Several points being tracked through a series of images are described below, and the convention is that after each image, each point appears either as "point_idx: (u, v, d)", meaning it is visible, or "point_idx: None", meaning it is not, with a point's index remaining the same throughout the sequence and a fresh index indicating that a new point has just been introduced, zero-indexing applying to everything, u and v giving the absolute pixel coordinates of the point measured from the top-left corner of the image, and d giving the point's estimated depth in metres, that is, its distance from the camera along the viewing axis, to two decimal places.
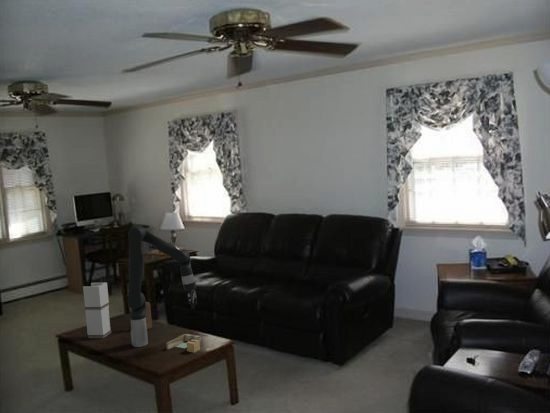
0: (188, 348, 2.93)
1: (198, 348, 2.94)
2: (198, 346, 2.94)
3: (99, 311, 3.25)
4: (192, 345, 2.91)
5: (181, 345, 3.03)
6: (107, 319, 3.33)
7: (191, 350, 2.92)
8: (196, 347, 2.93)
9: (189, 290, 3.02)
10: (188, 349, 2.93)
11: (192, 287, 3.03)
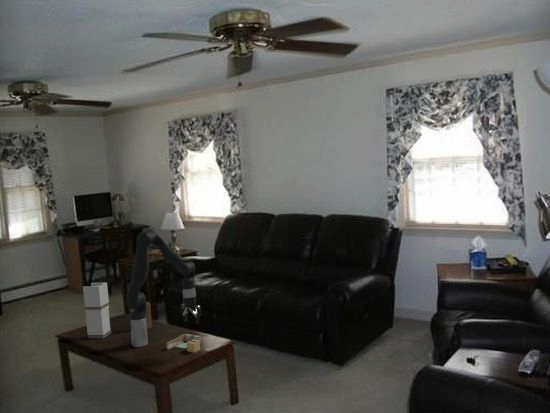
0: (188, 348, 2.93)
1: (198, 348, 2.94)
2: (198, 346, 2.94)
3: (99, 311, 3.25)
4: (192, 345, 2.91)
5: (181, 345, 3.03)
6: (107, 319, 3.33)
7: (191, 350, 2.92)
8: (196, 347, 2.93)
9: (195, 303, 2.90)
10: (188, 349, 2.93)
11: None
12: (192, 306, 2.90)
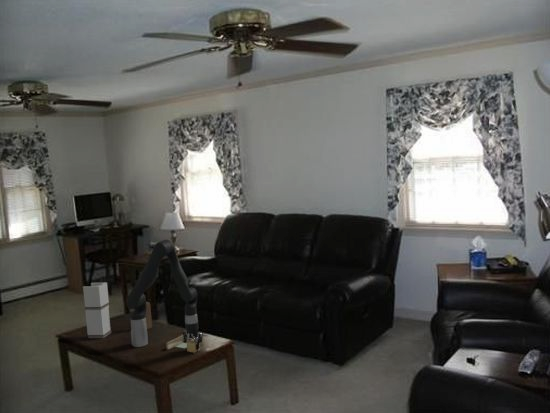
0: (188, 348, 2.93)
1: None
2: None
3: (99, 311, 3.25)
4: (192, 345, 2.91)
5: (181, 345, 3.03)
6: (107, 319, 3.33)
7: (191, 350, 2.92)
8: None
9: (197, 329, 2.92)
10: (188, 349, 2.93)
11: None
12: (194, 332, 2.91)
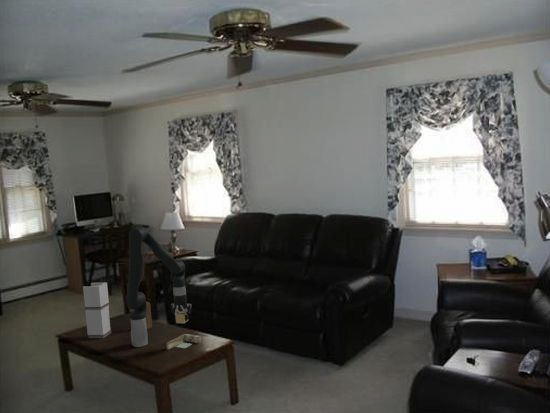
0: (177, 320, 3.00)
1: None
2: None
3: (99, 311, 3.25)
4: (182, 316, 2.99)
5: (181, 345, 3.03)
6: (107, 319, 3.33)
7: (180, 321, 2.99)
8: None
9: (186, 300, 3.00)
10: (177, 321, 3.00)
11: None
12: (183, 303, 3.00)
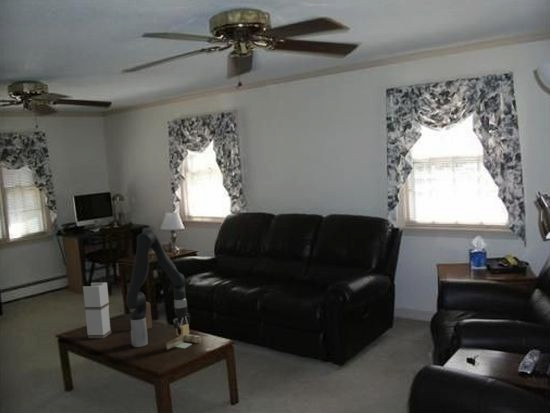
0: (184, 332, 3.00)
1: None
2: None
3: (99, 311, 3.25)
4: (187, 326, 3.02)
5: (181, 345, 3.03)
6: (107, 319, 3.33)
7: (186, 332, 3.02)
8: None
9: None
10: (184, 333, 3.00)
11: None
12: (185, 314, 3.03)
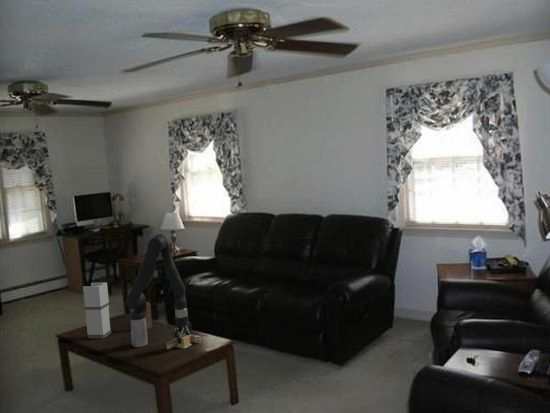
0: (185, 343, 3.00)
1: None
2: None
3: (99, 311, 3.25)
4: (188, 338, 3.03)
5: None
6: (107, 319, 3.33)
7: (187, 343, 3.02)
8: None
9: None
10: (185, 344, 3.00)
11: None
12: (186, 323, 3.04)
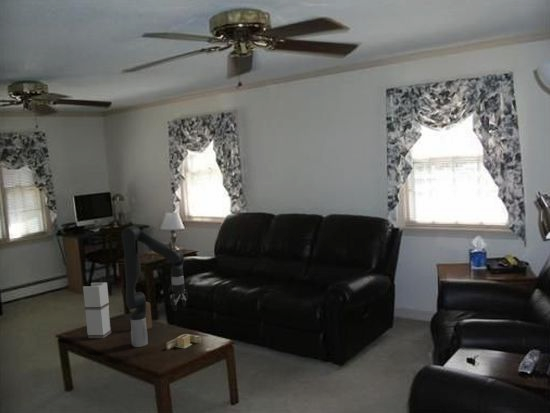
0: (185, 343, 3.00)
1: None
2: None
3: (99, 311, 3.25)
4: (188, 338, 3.03)
5: None
6: (107, 319, 3.33)
7: (187, 343, 3.02)
8: None
9: None
10: (185, 344, 3.00)
11: None
12: (182, 291, 3.04)
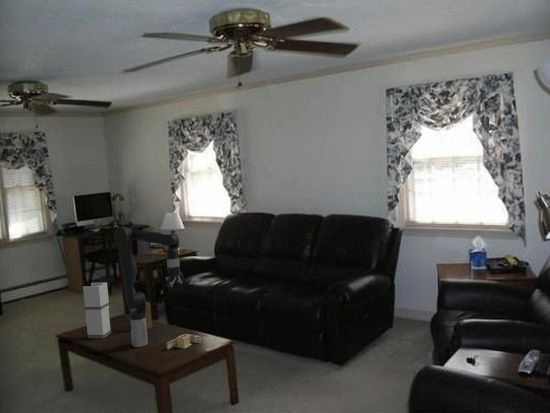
0: (185, 343, 3.00)
1: None
2: None
3: (99, 311, 3.25)
4: (188, 338, 3.03)
5: None
6: (107, 319, 3.33)
7: (187, 343, 3.02)
8: None
9: None
10: (185, 344, 3.00)
11: None
12: (178, 274, 3.07)
